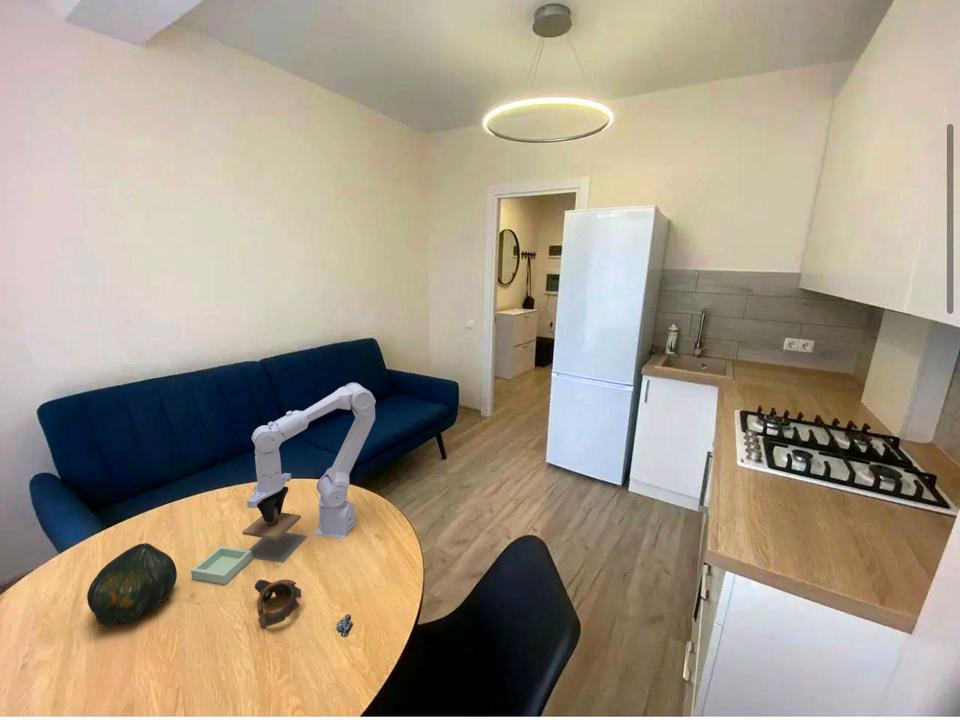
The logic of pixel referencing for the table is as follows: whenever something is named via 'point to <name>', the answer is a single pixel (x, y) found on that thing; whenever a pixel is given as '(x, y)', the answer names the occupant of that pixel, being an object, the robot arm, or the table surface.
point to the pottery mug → (279, 589)
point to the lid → (272, 526)
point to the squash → (131, 585)
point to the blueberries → (344, 626)
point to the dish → (221, 565)
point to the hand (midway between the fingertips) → (272, 517)
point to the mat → (277, 547)
